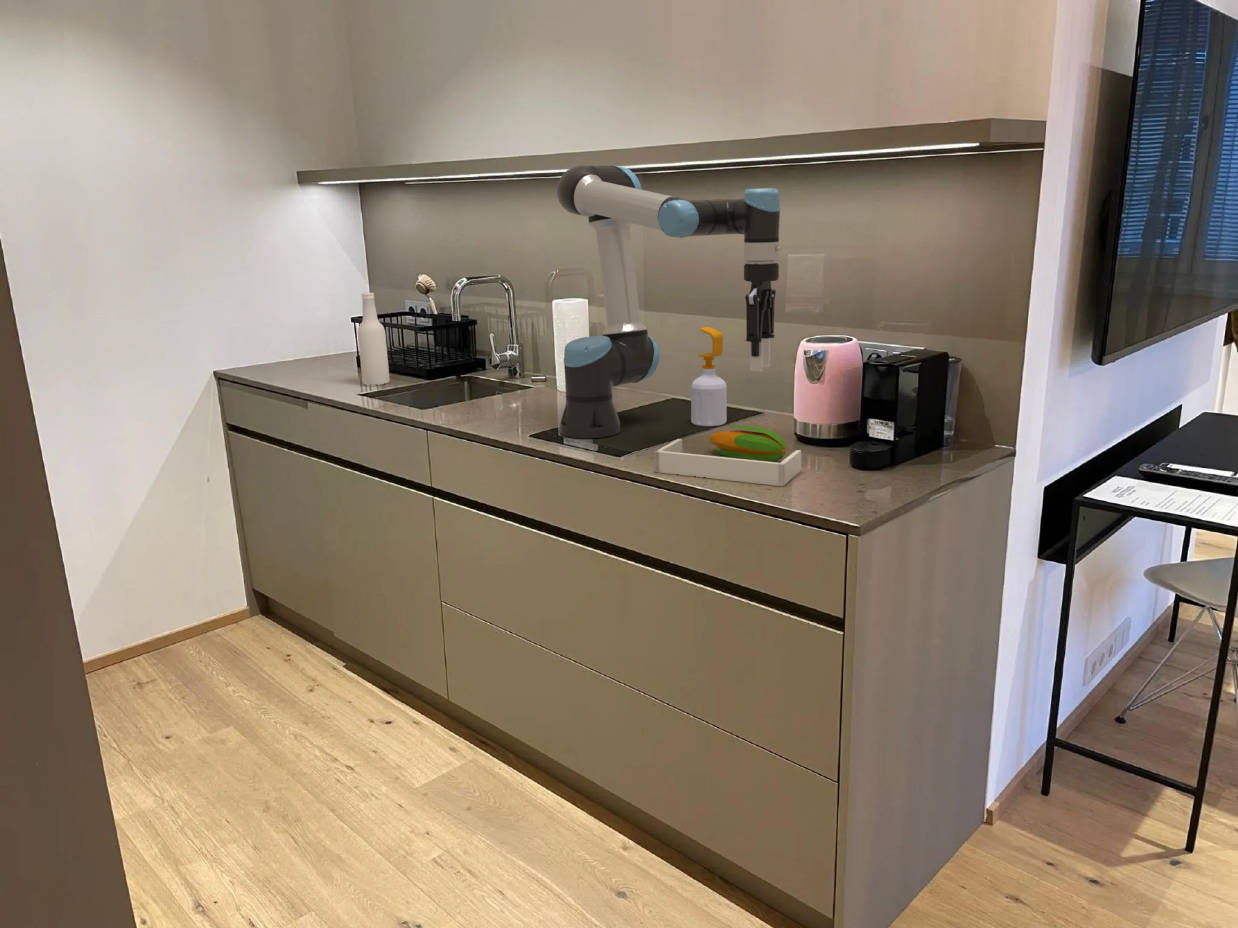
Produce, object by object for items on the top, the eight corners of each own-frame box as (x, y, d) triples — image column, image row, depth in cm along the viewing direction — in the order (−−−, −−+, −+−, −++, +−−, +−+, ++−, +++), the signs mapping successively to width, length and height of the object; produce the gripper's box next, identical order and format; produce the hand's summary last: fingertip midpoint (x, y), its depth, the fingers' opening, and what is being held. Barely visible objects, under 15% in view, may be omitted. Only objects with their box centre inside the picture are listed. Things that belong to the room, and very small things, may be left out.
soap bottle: (704, 417, 247) (703, 324, 241) (733, 421, 241) (733, 326, 235) (684, 424, 240) (683, 328, 234) (713, 428, 235) (713, 330, 228)
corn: (775, 434, 195) (698, 422, 208) (773, 470, 196) (697, 455, 209) (793, 430, 200) (718, 418, 213) (791, 464, 202) (716, 451, 215)
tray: (655, 472, 197) (654, 451, 196) (678, 458, 207) (677, 438, 206) (782, 486, 185) (783, 464, 183) (800, 471, 195) (801, 450, 194)
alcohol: (370, 381, 315) (361, 292, 307) (394, 382, 313) (386, 291, 305) (358, 386, 307) (348, 294, 299) (382, 386, 305) (374, 294, 297)
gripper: (765, 265, 193) (763, 376, 199) (790, 260, 208) (787, 364, 214) (730, 265, 196) (730, 374, 202) (758, 260, 211) (756, 362, 217)
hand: (759, 368), depth 208 cm, fingers open, 4 cm apart
